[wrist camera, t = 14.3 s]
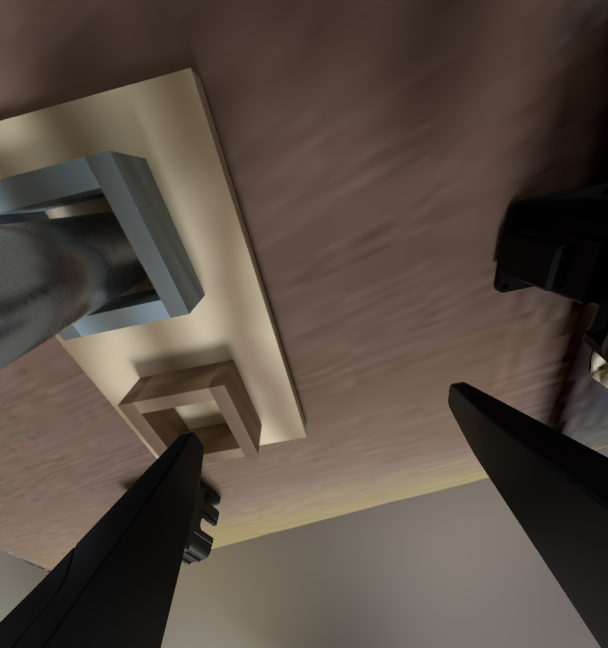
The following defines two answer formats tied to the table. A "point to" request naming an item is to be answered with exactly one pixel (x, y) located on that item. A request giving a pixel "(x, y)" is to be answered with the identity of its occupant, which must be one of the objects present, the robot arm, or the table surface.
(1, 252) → the grey long rounded piece
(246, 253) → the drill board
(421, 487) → the table surface
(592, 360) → the storage basket
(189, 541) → the end cap
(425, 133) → the table surface
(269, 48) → the table surface
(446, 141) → the table surface
